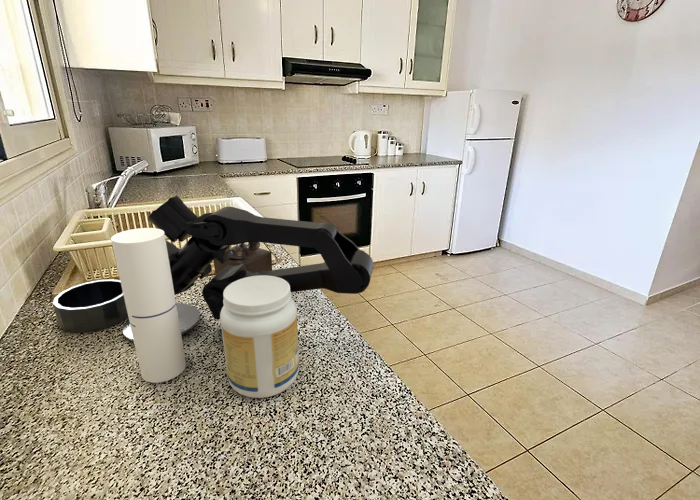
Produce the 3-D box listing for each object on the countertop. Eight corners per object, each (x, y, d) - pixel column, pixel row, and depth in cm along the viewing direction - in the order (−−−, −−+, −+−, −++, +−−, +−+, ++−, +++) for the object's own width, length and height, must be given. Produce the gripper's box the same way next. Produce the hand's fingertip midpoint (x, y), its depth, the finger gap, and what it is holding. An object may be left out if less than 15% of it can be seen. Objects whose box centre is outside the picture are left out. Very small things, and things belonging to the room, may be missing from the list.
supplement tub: (291, 348, 72) (287, 268, 66) (307, 390, 62) (305, 300, 55) (225, 361, 68) (215, 278, 62) (230, 409, 57) (219, 314, 51)
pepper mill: (213, 289, 94) (204, 221, 87) (245, 274, 103) (240, 211, 96) (258, 307, 87) (252, 233, 80) (289, 288, 95) (286, 221, 89)
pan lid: (213, 311, 84) (208, 276, 81) (172, 350, 70) (164, 310, 67) (156, 304, 86) (149, 270, 83) (105, 340, 73) (95, 301, 70)
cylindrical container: (169, 385, 62) (142, 245, 53) (131, 379, 63) (99, 240, 54) (194, 359, 68) (174, 230, 59) (159, 353, 70) (134, 226, 61)
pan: (147, 303, 87) (143, 283, 85) (99, 336, 74) (93, 313, 72) (97, 297, 89) (92, 276, 87) (43, 327, 77) (35, 304, 75)
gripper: (191, 213, 78) (154, 257, 84) (125, 243, 61) (84, 296, 67) (230, 251, 80) (190, 292, 86) (175, 291, 63) (131, 338, 69)
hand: (153, 302), depth 77 cm, fingers closed on pan lid, 2 cm apart
